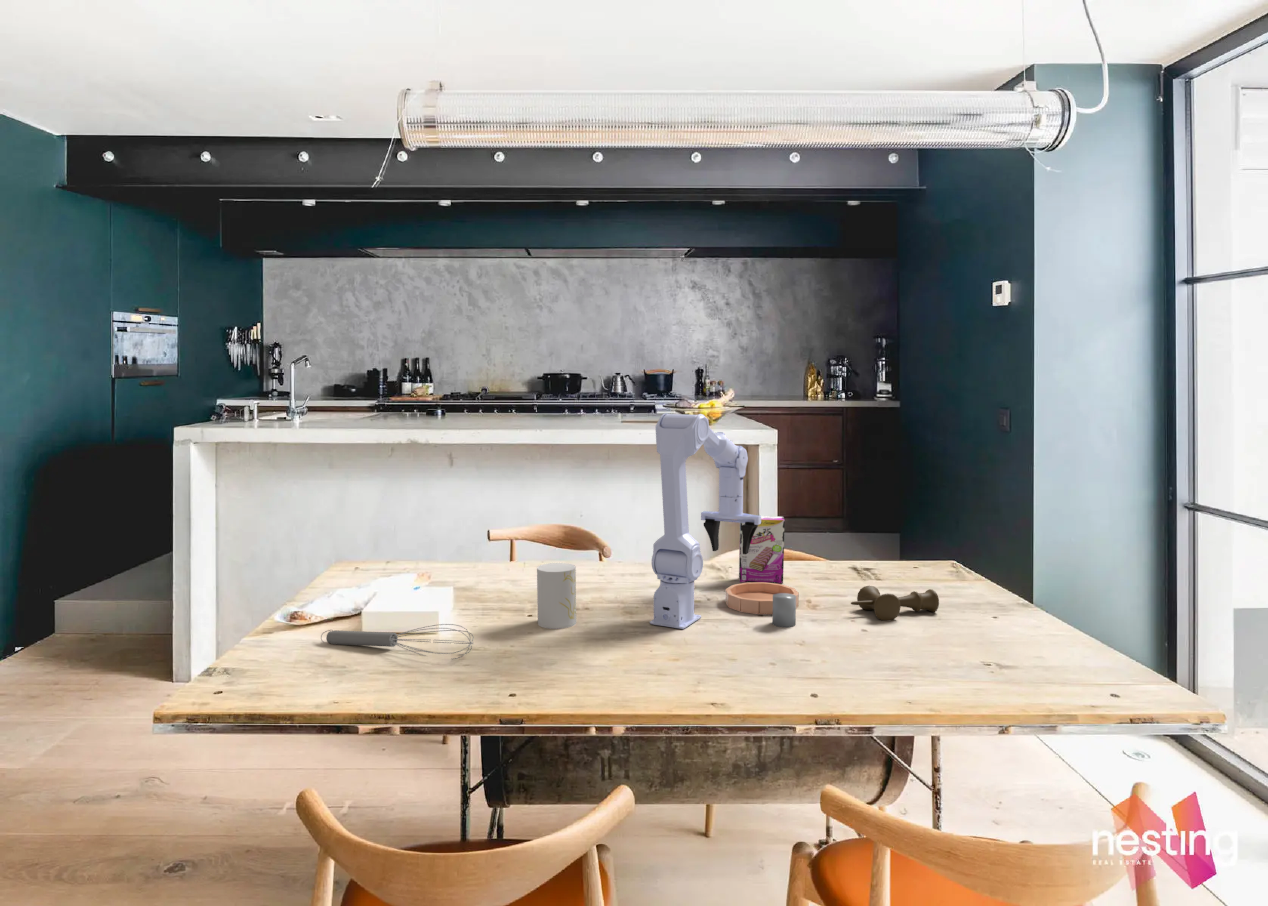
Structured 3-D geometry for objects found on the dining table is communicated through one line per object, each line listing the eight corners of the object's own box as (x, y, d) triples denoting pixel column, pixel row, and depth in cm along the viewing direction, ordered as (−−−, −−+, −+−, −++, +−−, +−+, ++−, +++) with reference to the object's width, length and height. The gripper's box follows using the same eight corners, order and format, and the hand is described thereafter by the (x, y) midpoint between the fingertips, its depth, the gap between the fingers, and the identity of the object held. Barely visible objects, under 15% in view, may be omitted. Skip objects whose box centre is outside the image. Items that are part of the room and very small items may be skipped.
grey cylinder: (791, 628, 171) (792, 600, 170) (769, 625, 173) (769, 597, 173) (798, 622, 175) (798, 594, 175) (776, 619, 177) (776, 591, 177)
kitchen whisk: (331, 637, 167) (329, 607, 166) (480, 656, 157) (479, 623, 156) (310, 647, 161) (309, 615, 161) (464, 667, 151) (463, 633, 150)
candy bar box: (739, 583, 208) (739, 518, 206) (738, 578, 213) (739, 515, 211) (784, 584, 207) (785, 519, 205) (782, 579, 212) (783, 515, 210)
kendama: (946, 619, 179) (860, 622, 175) (922, 608, 188) (840, 611, 184) (947, 592, 178) (861, 594, 174) (923, 582, 188) (841, 584, 184)
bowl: (785, 618, 178) (785, 604, 178) (715, 608, 186) (715, 595, 185) (805, 599, 192) (806, 587, 192) (740, 591, 200) (740, 579, 199)
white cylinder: (570, 629, 171) (569, 572, 170) (532, 627, 172) (531, 571, 171) (580, 618, 179) (580, 563, 178) (544, 616, 180) (543, 562, 179)
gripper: (765, 495, 197) (764, 551, 198) (708, 491, 203) (708, 546, 205) (755, 499, 191) (755, 557, 192) (697, 495, 197) (697, 551, 198)
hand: (730, 551), depth 198 cm, fingers open, 7 cm apart
